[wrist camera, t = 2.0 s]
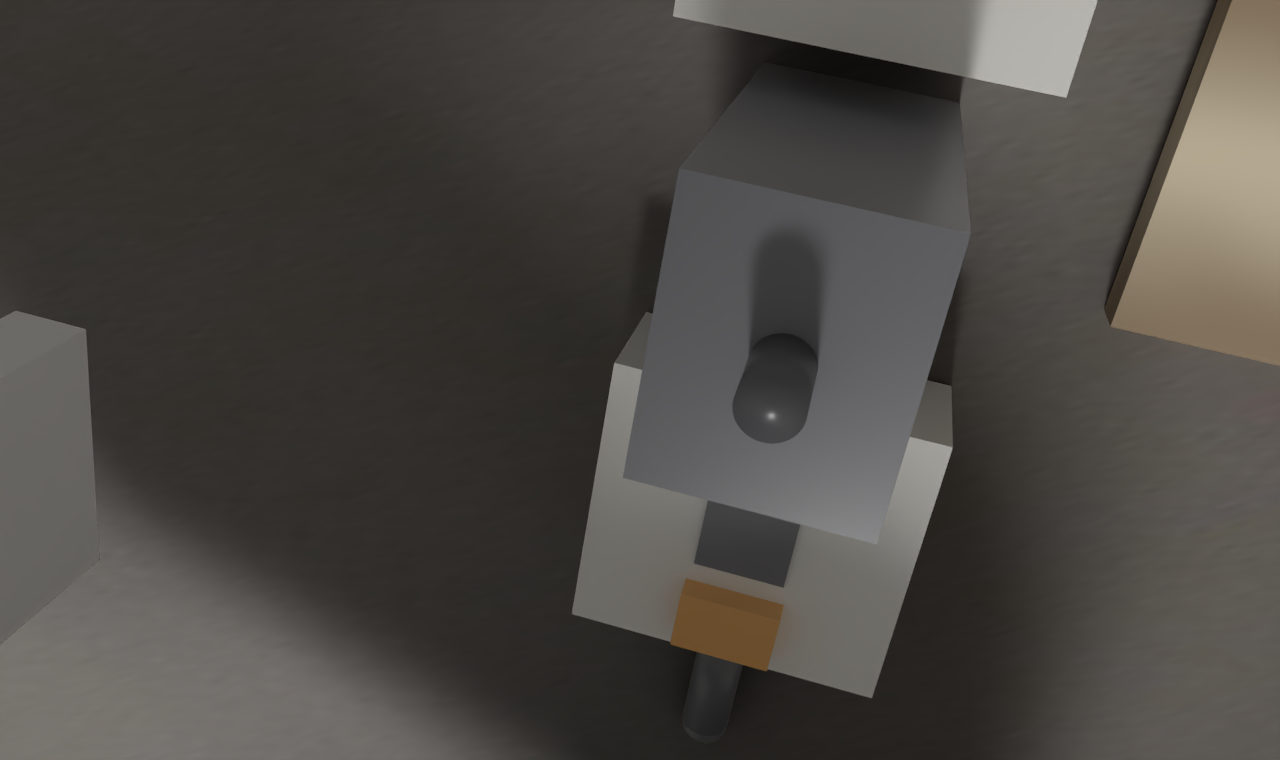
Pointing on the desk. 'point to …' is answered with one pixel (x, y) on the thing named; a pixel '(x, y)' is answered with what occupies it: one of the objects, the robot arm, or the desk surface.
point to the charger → (802, 299)
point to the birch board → (1215, 201)
